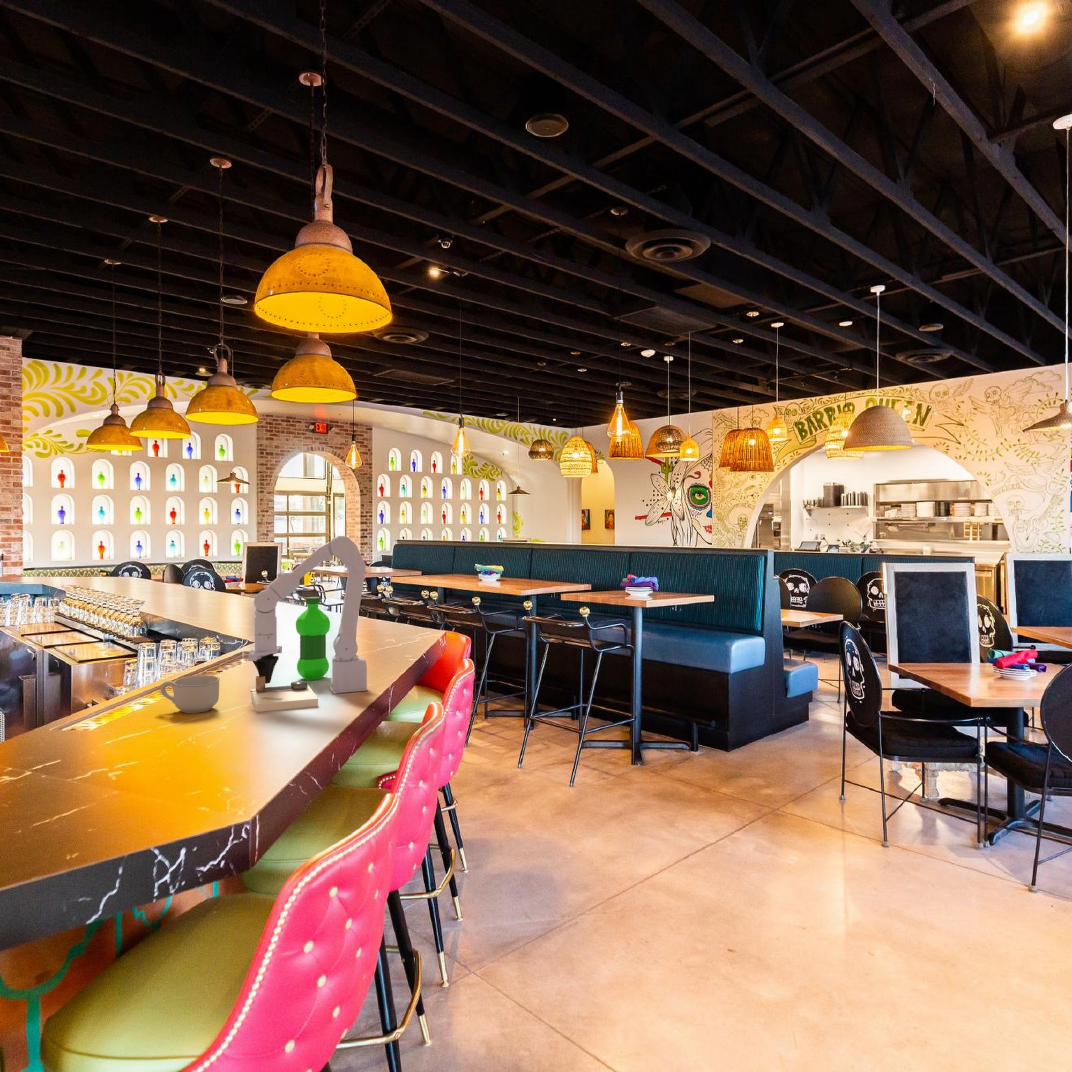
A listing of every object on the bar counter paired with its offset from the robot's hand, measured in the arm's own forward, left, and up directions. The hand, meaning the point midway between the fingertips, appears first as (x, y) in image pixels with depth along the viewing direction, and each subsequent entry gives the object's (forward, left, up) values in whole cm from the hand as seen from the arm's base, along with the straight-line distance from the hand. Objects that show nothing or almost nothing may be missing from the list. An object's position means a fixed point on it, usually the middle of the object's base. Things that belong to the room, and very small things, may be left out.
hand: (265, 682), depth 203 cm
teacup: (+19, +11, -4) cm, 22 cm away
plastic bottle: (-15, -19, -4) cm, 25 cm away
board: (-4, +10, -3) cm, 11 cm away
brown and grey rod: (-3, +6, -1) cm, 6 cm away
